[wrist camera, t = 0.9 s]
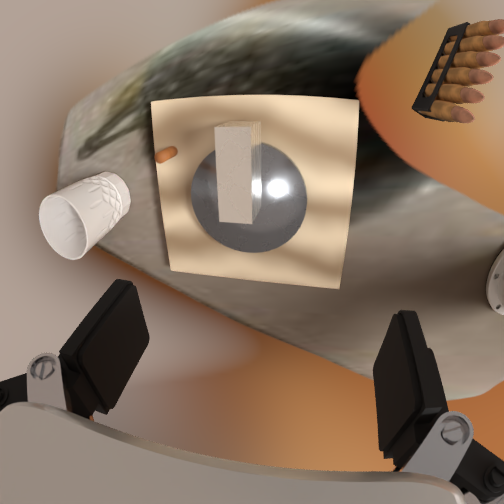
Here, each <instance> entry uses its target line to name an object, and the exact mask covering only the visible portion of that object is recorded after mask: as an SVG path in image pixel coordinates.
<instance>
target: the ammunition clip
mask: <svg viewBox="0 0 504 504" xmlns="http://www.w3.org/2000/svg"><path fill="white" fill-rule="evenodd" d="M467 25H468V26H467ZM503 33H504V20H502V19H498V20H493V21H481V22H477V23H474V24H471V25H470V23H468V22H466V23H463V24H460V25H457V26H454V27H451V28H449V29H448V30H447V32H446V35H445V37H444V40H443V42H442V44H441V46H440V49H439V51H438V53H437V55H436V57H435V60H434V62H433V64H432V66H431V68H430V71H429V73H428V75H427V77H426V79H425V81H424V83H423V85H422V87H421V89H420V92H419V94H418V96H417V98H416V100H415V102H414V104H413V106H412V109H413V110H414V111H416V112H417V113H419V114H420V115H422V116H423V117H425V118H429V119H434V120H440V121H448V122H460V123H470V122H473V121H474V120H475V117H474V115H473V114H472V113H471V112H470V111H469V110H467V109H465V108H463V107H459V106H457V105H455V104H453V103H456V104H463V103H479V102H481V101H483V100H484V99H485V96H484V95H483V94H482V93H481V92H480V91H478V90H476V89H473V88H468V87H463V86H472V85H478V84H486V83H489V82H491V81H492V80H493V78H494V77H493V75H492V74H491V73H489V72H487V71H485V70H480V68H484V67H489V66H493V65H496V64H497V63H499V62H500V61H501V57H500V56H498V55H497V54H495V53H491V52H489V51H493V50H497V49H500V48H502V47H503V46H504V37H502V36H498V35H499V34H503Z"/></svg>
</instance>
